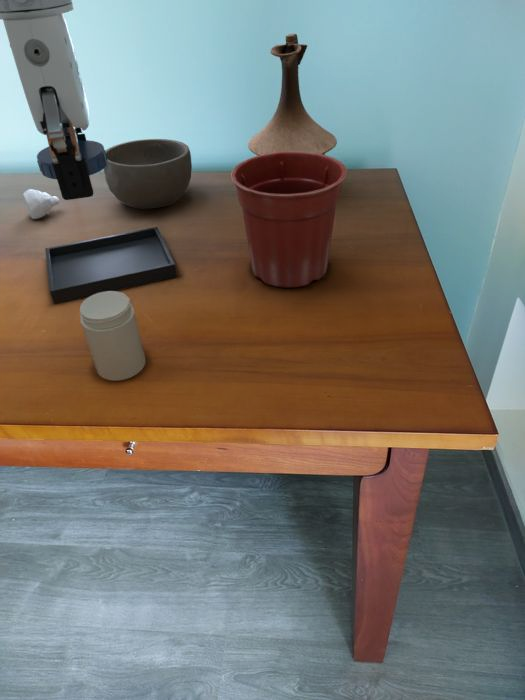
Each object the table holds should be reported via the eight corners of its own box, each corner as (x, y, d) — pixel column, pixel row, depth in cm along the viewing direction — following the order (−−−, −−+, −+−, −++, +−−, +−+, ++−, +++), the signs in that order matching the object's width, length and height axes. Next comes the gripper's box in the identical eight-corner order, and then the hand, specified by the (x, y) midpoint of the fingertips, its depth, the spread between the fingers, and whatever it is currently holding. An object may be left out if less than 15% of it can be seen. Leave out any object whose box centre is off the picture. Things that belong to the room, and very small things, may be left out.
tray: (54, 304, 80) (49, 291, 78) (49, 260, 90) (45, 248, 89) (177, 276, 85) (175, 264, 83) (159, 238, 95) (157, 226, 93)
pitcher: (255, 175, 115) (248, 28, 97) (333, 175, 114) (341, 25, 96) (246, 211, 102) (236, 47, 84) (334, 211, 100) (343, 44, 82)
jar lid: (109, 152, 61) (106, 137, 60) (105, 176, 56) (101, 160, 54) (47, 158, 60) (42, 143, 59) (36, 182, 55) (31, 166, 54)
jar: (100, 386, 65) (80, 326, 59) (92, 356, 70) (73, 297, 64) (150, 372, 67) (136, 311, 61) (140, 343, 72) (125, 284, 66)
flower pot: (219, 265, 87) (208, 169, 77) (296, 234, 94) (296, 142, 84) (280, 310, 77) (277, 206, 66) (361, 271, 84) (371, 172, 73)
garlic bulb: (65, 216, 103) (57, 189, 100) (34, 223, 101) (25, 197, 98) (59, 206, 107) (51, 180, 104) (29, 213, 105) (19, 187, 101)
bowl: (174, 176, 117) (167, 129, 111) (211, 203, 105) (205, 153, 99) (99, 195, 110) (87, 147, 104) (129, 227, 99) (118, 175, 92)
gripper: (66, 2, 42) (116, 211, 53) (71, -19, 55) (110, 152, 66) (-34, 11, 41) (39, 222, 52) (-5, -13, 54) (48, 160, 65)
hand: (78, 182), depth 59 cm, fingers closed on jar lid, 7 cm apart
